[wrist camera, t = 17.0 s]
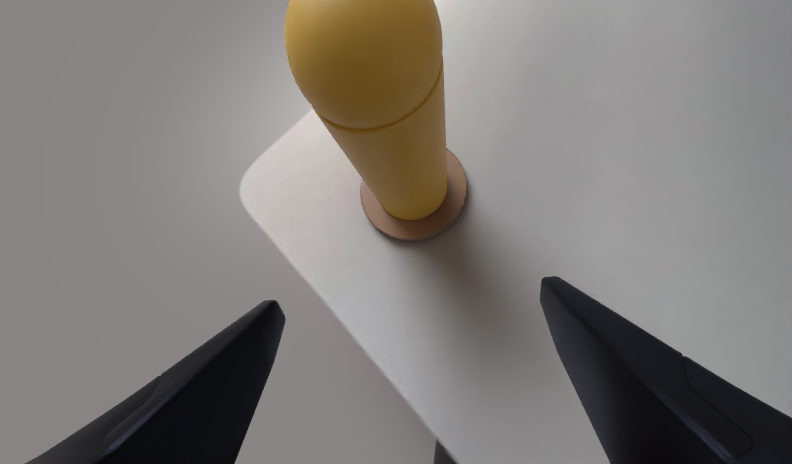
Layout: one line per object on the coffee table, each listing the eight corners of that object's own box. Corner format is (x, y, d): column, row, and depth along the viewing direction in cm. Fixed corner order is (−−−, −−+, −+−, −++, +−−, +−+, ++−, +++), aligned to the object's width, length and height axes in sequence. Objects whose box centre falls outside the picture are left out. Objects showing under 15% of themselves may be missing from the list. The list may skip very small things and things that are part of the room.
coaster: (423, 263, 17) (422, 261, 17) (342, 203, 20) (339, 200, 19) (488, 175, 18) (489, 171, 17) (403, 127, 20) (401, 122, 20)
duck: (451, 215, 17) (451, 18, 5) (379, 224, 18) (238, 69, 6) (440, 129, 19) (421, -169, 7) (374, 141, 20) (254, -110, 8)
